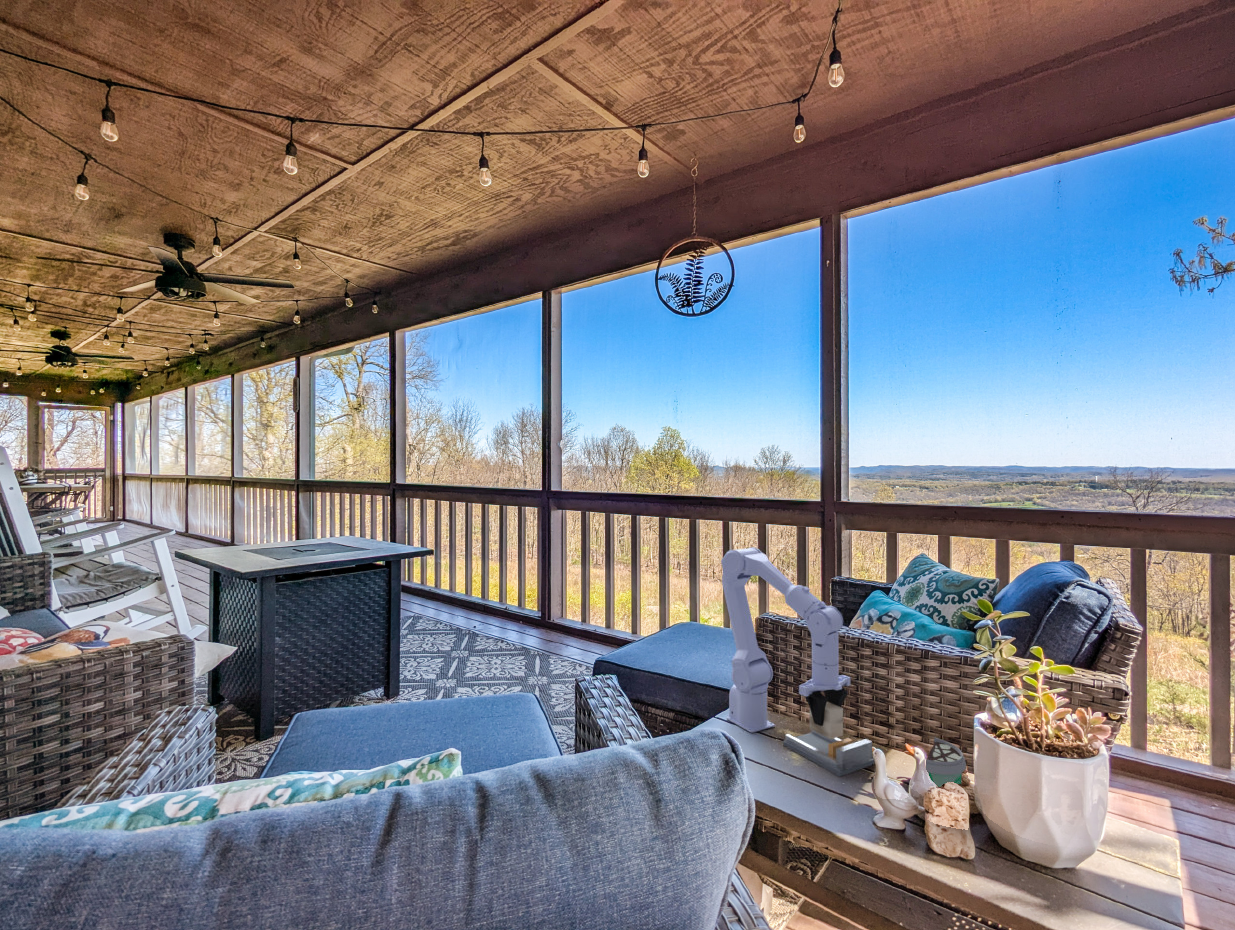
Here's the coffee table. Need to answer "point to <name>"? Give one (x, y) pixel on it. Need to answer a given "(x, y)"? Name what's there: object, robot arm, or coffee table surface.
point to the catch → (838, 746)
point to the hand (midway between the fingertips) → (825, 722)
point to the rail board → (817, 751)
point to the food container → (945, 763)
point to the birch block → (829, 722)
